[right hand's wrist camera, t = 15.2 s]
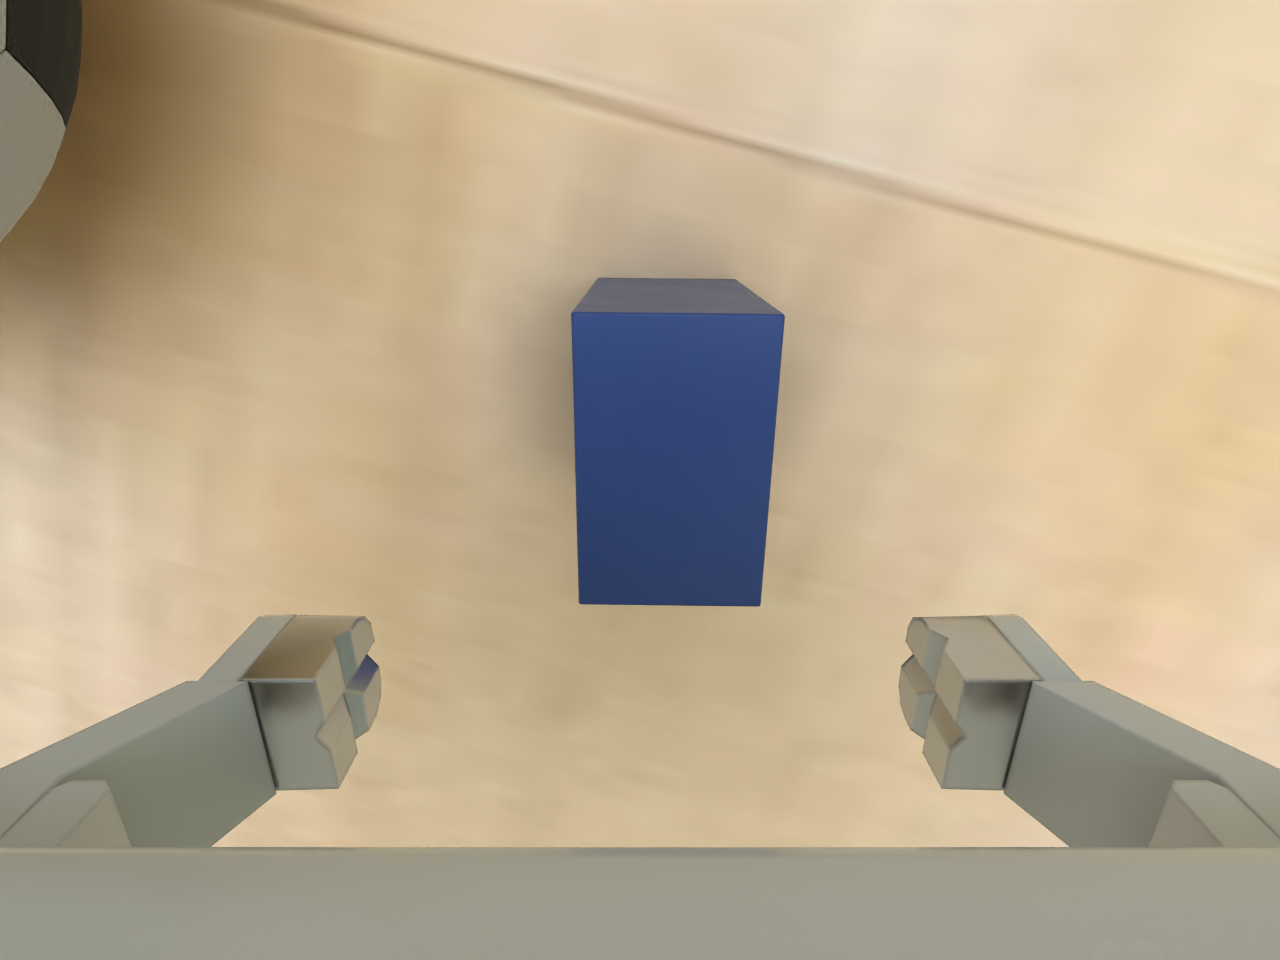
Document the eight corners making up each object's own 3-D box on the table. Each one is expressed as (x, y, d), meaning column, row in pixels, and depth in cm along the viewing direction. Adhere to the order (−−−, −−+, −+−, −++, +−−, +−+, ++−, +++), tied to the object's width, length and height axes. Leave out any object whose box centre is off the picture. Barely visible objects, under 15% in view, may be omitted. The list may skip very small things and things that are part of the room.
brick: (736, 279, 24) (785, 314, 16) (724, 483, 27) (760, 607, 19) (597, 277, 24) (570, 311, 16) (599, 481, 27) (578, 605, 19)
